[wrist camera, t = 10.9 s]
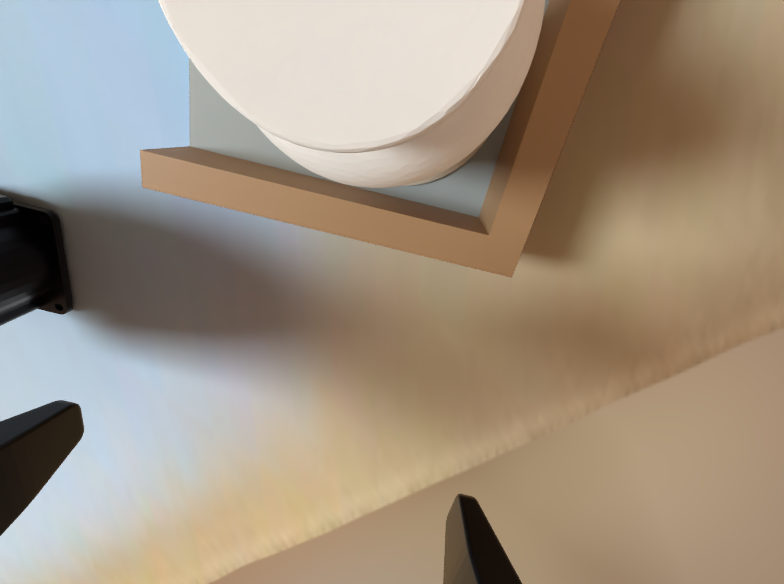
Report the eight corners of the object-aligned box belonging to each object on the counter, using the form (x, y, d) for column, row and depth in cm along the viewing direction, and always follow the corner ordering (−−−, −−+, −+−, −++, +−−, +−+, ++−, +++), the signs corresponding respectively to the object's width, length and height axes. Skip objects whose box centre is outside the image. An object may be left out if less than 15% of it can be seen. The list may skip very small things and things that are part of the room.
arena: (495, 249, 19) (511, 277, 16) (196, 176, 19) (142, 187, 15) (623, -107, 13) (696, -195, 10) (197, -217, 13) (110, -348, 10)
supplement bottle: (357, 180, 18) (220, 279, 6) (299, 23, 15) (-116, -323, 4) (496, 129, 16) (677, 129, 5) (456, -51, 14) (615, -1018, 2)
